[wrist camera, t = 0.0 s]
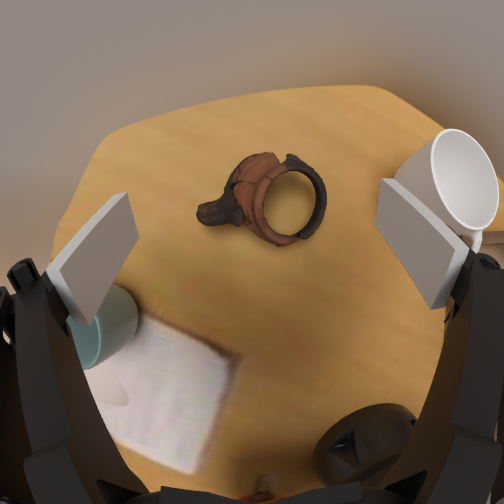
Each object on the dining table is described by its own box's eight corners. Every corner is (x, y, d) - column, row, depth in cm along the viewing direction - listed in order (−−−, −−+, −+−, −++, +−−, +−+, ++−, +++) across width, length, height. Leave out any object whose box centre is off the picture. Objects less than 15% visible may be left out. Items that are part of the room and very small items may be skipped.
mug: (360, 181, 28) (414, 137, 16) (414, 161, 28) (472, 122, 17) (399, 277, 28) (469, 281, 16) (448, 247, 28) (516, 240, 16)
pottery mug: (279, 143, 29) (322, 139, 22) (299, 218, 33) (342, 234, 26) (177, 178, 27) (190, 182, 19) (208, 259, 30) (231, 289, 23)
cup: (93, 335, 29) (42, 356, 19) (94, 274, 29) (39, 277, 19) (146, 350, 29) (103, 382, 19) (150, 284, 29) (102, 293, 19)
